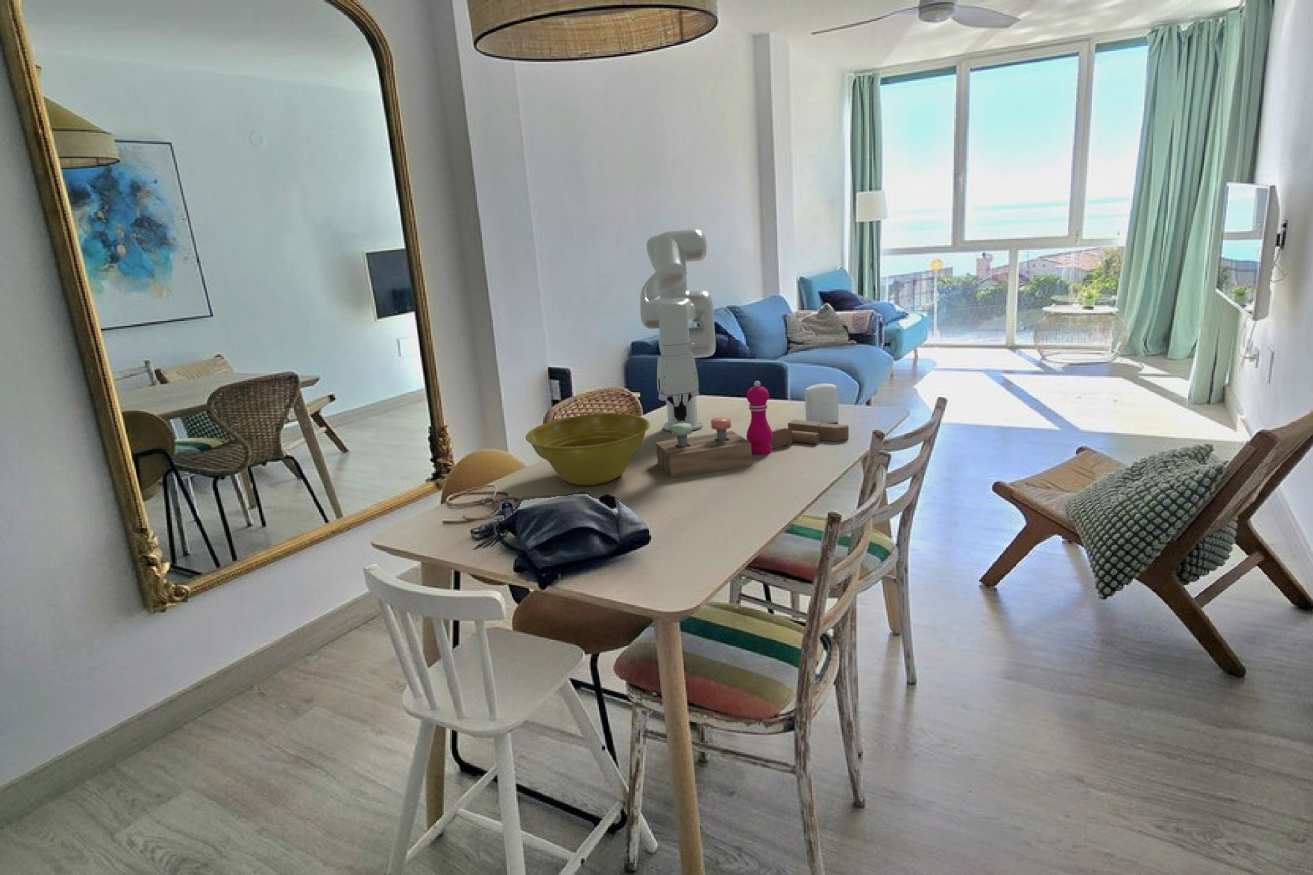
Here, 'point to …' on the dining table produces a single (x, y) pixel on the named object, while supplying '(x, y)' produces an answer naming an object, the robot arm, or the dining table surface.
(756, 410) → the pepper mill
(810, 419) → the photo printer
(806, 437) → the wooden block set
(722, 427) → the red button
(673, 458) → the button panel
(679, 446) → the green button
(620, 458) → the planter bowl
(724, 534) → the dining table surface
